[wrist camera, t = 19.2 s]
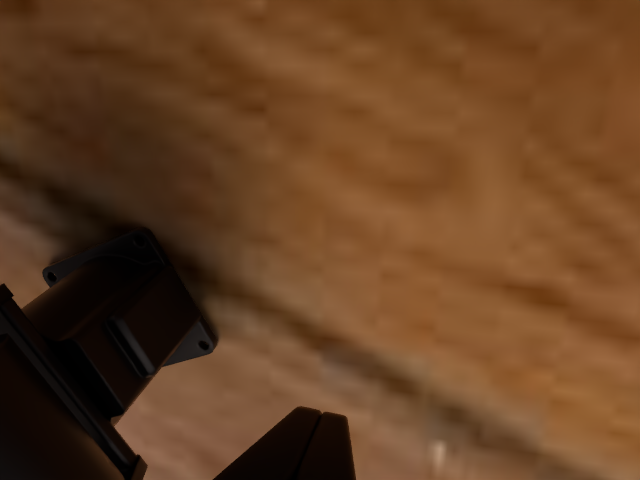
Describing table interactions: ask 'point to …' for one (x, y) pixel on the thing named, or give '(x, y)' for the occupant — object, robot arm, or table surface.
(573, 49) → the table surface
